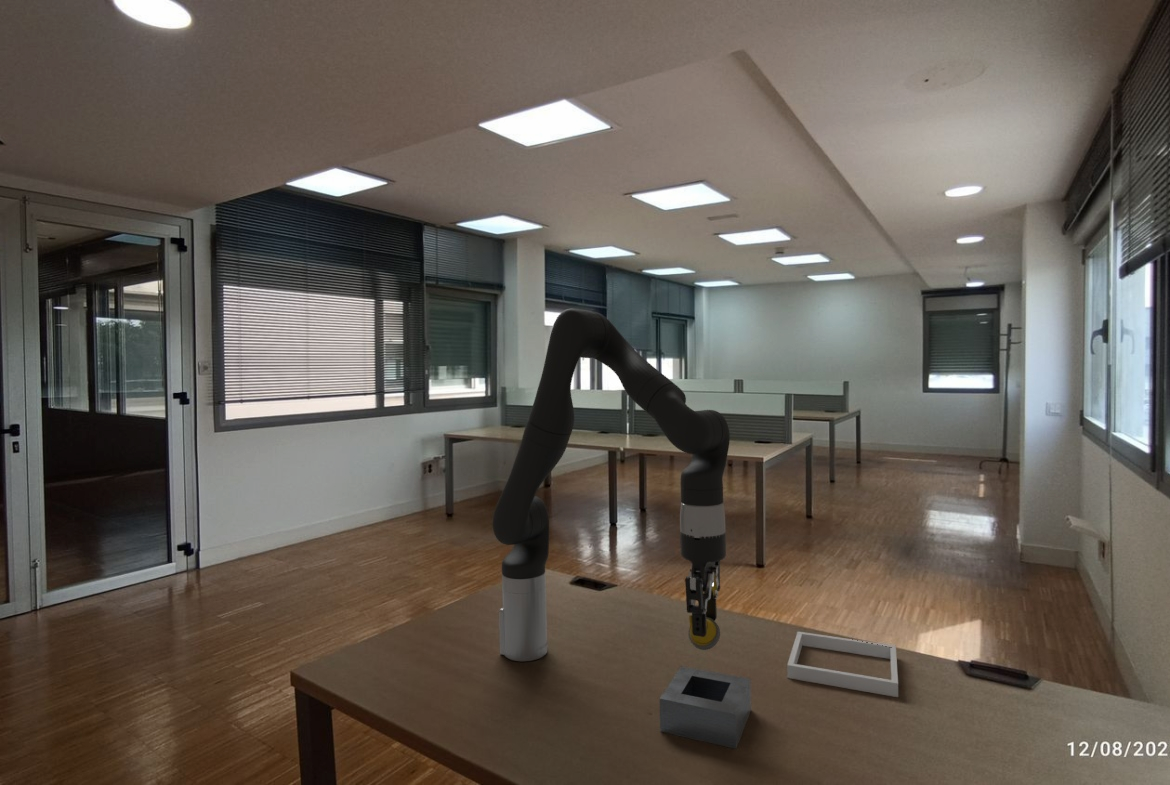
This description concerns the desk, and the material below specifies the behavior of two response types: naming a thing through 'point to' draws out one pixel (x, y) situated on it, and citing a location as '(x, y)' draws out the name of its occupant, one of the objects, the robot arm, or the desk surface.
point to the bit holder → (706, 706)
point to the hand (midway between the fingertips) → (704, 627)
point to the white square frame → (843, 678)
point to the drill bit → (709, 638)
